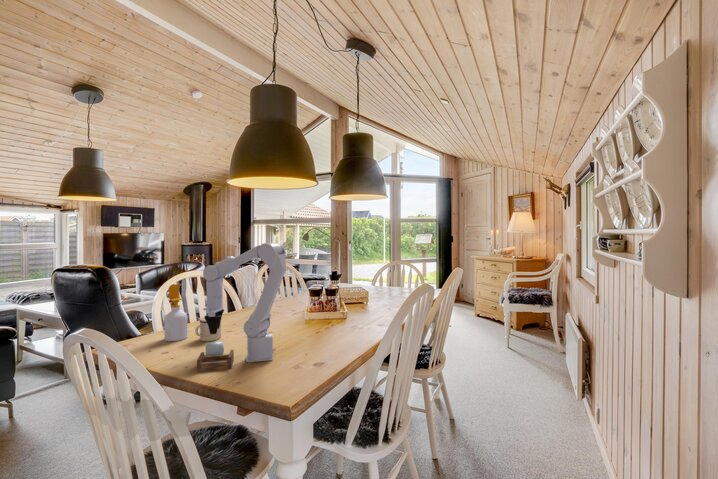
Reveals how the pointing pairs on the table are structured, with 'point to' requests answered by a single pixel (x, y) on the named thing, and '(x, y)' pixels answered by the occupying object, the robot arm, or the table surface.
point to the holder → (215, 362)
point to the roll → (214, 348)
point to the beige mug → (207, 331)
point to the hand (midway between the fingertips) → (214, 331)
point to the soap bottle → (175, 318)
